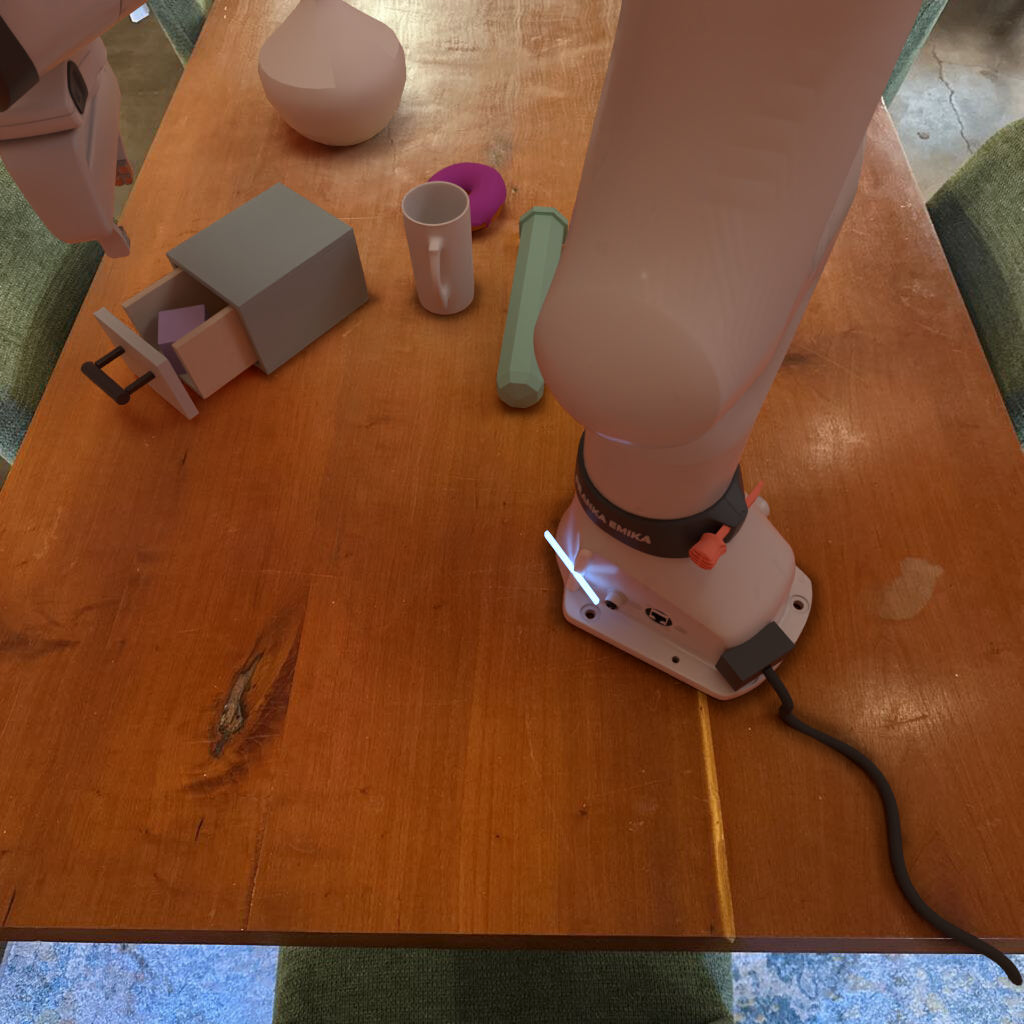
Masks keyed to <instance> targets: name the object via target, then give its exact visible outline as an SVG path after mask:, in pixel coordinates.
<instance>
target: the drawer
mask: <svg viewBox="0 0 1024 1024" xmlns="http://www.w3.org/2000/svg"><path fill="white" fill-rule="evenodd" d="M203 304H204V305H205V306H206V309H207V311H208V313H209V315H210V317H211V318H210V319H208V320H207V321H205V322H204V323H202V324H201V325H199V326H198V327H196V328H195V329H193V330H192V331H191V332H189V333H188V334H186V335H185V336H183V337H182V338H180V339H179V340H177V341H176V342H174V343H173V344H172V345H171V346H172V347H173V349H174V351H175V353H176V354H177V356H178V358H179V360H180V361H181V363H182V365H183V367H184V369H185V370H186V372H187V374H182V375H177V374H176V373H175V371H174V369H173V368H172V366H171V364H170V362H169V361H168V359H167V358H166V357H165V356H164V354H163V352H162V351H161V349H160V347H159V345H158V321H159V312H161V311H167V310H173V309H179V308H185V307H191V306H197V305H203ZM120 306H121V308H122V309H123V311H124V312H125V314H126V316H127V317H128V319H129V321H130V322H131V324H132V326H133V327H134V329H135V331H136V332H137V333H136V332H135V331H134V330H133V329H131V328H130V327H129V326H127V324H125V323H124V322H123V321H121V320H120V319H119V317H116V315H114V314H113V313H112V312H111V311H109V310H108V309H107V308H106V307H104V306H102V307H101V308H100V309H98V310H96V311H94V312H93V313H92V315H93V316H94V318H95V319H96V321H97V322H98V324H99V325H100V327H101V328H102V330H103V331H104V333H105V334H106V336H107V337H108V339H109V340H110V342H111V344H112V345H113V347H114V348H113V349H112V350H111V351H109V352H107V353H106V354H105V355H103V356H102V357H100V358H98V359H97V360H95V361H90V360H89V361H85V362H83V363H82V364H81V366H80V372H81V373H82V374H83V375H84V376H85V377H86V378H87V379H88V380H90V381H91V382H92V383H93V384H94V385H95V386H97V388H99V390H101V391H102V392H103V393H104V394H106V396H108V397H109V398H110V399H111V400H112V401H113V402H115V403H116V404H117V405H118V406H125V405H128V403H129V402H130V401H131V398H132V397H131V395H133V394H134V393H136V392H138V391H139V390H141V388H143V387H145V386H146V385H147V386H148V387H150V388H151V389H152V390H153V391H155V393H157V394H158V395H159V396H160V397H162V398H163V399H164V400H165V401H166V402H167V403H169V404H170V405H171V406H172V407H173V408H175V410H177V411H178V412H179V413H180V414H181V415H183V416H184V417H185V418H186V419H188V420H189V421H190V420H192V419H193V418H194V417H196V416H197V415H199V414H200V412H199V410H198V409H197V407H196V406H195V404H194V402H193V400H192V398H191V397H190V395H189V393H188V391H187V390H186V387H185V386H184V385H183V383H184V384H185V385H186V386H187V387H188V388H190V389H191V390H192V391H193V392H195V393H196V394H197V395H199V396H200V397H201V398H202V399H203V400H206V399H207V398H209V397H210V396H212V395H213V394H214V393H216V392H217V391H218V390H220V389H221V388H223V387H224V386H226V385H227V384H228V383H229V382H230V381H232V380H233V379H235V378H236V377H237V376H239V375H240V374H242V373H243V372H244V371H246V370H247V369H249V368H250V367H251V366H252V365H254V363H255V362H256V361H258V358H257V356H256V354H255V351H254V349H253V347H252V344H251V342H250V340H249V338H248V335H247V333H246V331H245V329H244V326H243V324H242V322H241V320H240V317H239V315H238V313H237V311H236V309H235V308H234V307H233V306H231V305H230V304H229V303H227V302H226V301H224V300H223V299H222V298H220V297H219V296H218V295H216V294H215V293H214V292H212V291H211V290H210V289H208V288H207V287H205V286H204V285H203V284H201V283H200V282H199V281H197V280H196V279H195V278H193V277H192V276H191V275H189V274H188V273H187V272H185V271H184V270H182V269H181V268H180V267H178V268H176V269H175V270H174V269H172V270H171V271H170V272H169V273H167V274H165V275H164V276H163V277H160V278H159V279H158V280H156V281H155V282H153V283H151V284H150V285H148V286H147V287H145V288H144V289H142V290H141V291H139V292H138V293H136V294H134V295H133V296H131V297H130V298H128V299H126V300H125V301H124V302H122V303H120ZM119 357H121V358H122V360H123V362H124V363H125V365H126V366H127V368H128V369H129V370H130V371H131V372H132V373H133V374H135V375H136V376H137V377H138V378H136V380H134V381H133V382H131V383H130V384H128V385H127V386H125V387H124V388H123V387H122V386H121V385H120V384H119V383H117V381H116V380H114V379H113V378H112V377H111V376H109V374H107V373H106V372H105V371H104V370H103V368H104V367H106V366H107V365H109V364H111V363H112V362H113V361H115V360H116V359H118V358H119Z"/></svg>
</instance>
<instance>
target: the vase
mask: <svg viewBox="0 0 1024 1024" xmlns="http://www.w3.org/2000/svg"><path fill="white" fill-rule="evenodd" d="M261 45H262V46H261V47H260V49H259V55H258V62H257V73H258V76H259V80H260V82H261V85H262V88H263V91H264V94H265V97H266V99H267V101H268V102H269V103H270V104H271V106H272V107H273V108H274V110H275V111H276V112H277V113H278V115H279V116H280V117H281V118H282V120H283V121H284V122H285V123H286V124H287V125H288V126H289V127H291V129H293V130H295V131H296V132H297V133H299V135H301V136H303V137H305V138H307V139H308V140H310V141H313V142H316V143H318V144H323V145H326V146H330V147H350V146H354V145H359V144H361V143H364V142H366V141H368V140H370V139H372V138H373V137H375V136H377V134H379V133H381V131H382V130H384V129H385V127H386V126H388V124H389V123H390V122H391V120H392V119H393V117H394V115H395V114H396V113H397V111H398V108H399V106H400V104H401V102H402V98H403V97H402V96H403V93H404V91H405V90H404V89H405V87H406V81H407V63H406V54H405V49H404V48H403V46H402V44H401V42H400V40H399V38H398V36H397V34H396V32H395V31H394V30H393V28H391V27H390V26H389V25H388V24H386V23H385V22H383V21H381V20H379V19H377V18H375V17H373V16H372V15H369V14H367V13H365V12H364V11H362V10H360V9H358V8H356V7H354V6H353V5H351V4H350V3H347V2H346V1H344V0H299V3H298V4H297V5H296V6H295V8H293V10H292V11H291V12H290V13H289V14H288V16H287V17H286V18H285V19H284V20H283V22H281V24H279V26H278V27H277V28H276V29H275V30H274V31H273V32H272V33H271V34H270V35H269V36H268V37H267V38H266V39H265V41H264V42H263V44H261Z"/></svg>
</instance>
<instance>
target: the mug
mask: <svg viewBox="0 0 1024 1024" xmlns="http://www.w3.org/2000/svg"><path fill="white" fill-rule="evenodd" d="M400 208H401V212H402V220H403V225H404V230H405V236H406V241H407V247H408V251H409V257H410V262H411V266H412V272H413V278H414V282H415V286H416V292H417V297H418V300H419V303H420V304H421V306H422V307H423V308H424V309H425V310H427V311H428V312H430V313H432V314H435V315H440V316H441V315H442V316H443V315H444V316H449V315H455V314H457V313H461V312H463V311H465V309H467V308H468V307H469V306H470V305H471V304H472V302H473V300H474V297H475V275H474V273H475V272H474V258H473V257H474V256H473V237H472V232H471V215H470V204H469V197H468V195H467V193H466V192H465V191H464V190H463V189H462V188H461V187H459V186H457V185H455V184H453V183H449V182H444V181H432V182H427V181H426V182H423V183H420V184H418V185H415V186H413V187H412V188H410V189H409V190H408V191H407V192H406V193H405V194H404V196H403V197H402V199H401V203H400Z"/></svg>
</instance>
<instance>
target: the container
mask: <svg viewBox="0 0 1024 1024" xmlns="http://www.w3.org/2000/svg"><path fill="white" fill-rule="evenodd" d="M518 220H519V221H518V232H519V233H518V240H519V244H518V251H517V256H516V261H515V267H514V273H513V279H512V285H511V291H510V296H509V301H508V308H507V313H506V319H505V326H504V330H503V337H502V342H501V348H500V354H499V360H498V366H497V371H496V378H495V381H496V382H495V383H496V393H497V395H498V397H499V400H500V401H502V402H503V403H505V404H506V405H508V406H510V407H511V408H520V409H521V408H522V409H527V408H529V407H531V406H533V405H535V404H537V403H538V402H539V401H540V400H541V399H542V397H543V396H544V390H545V385H546V383H545V381H544V379H543V377H542V375H541V372H540V369H539V367H538V364H537V361H536V357H535V353H534V346H533V334H534V328H535V324H536V321H537V318H538V316H539V313H540V311H541V308H542V305H543V303H544V300H545V297H546V295H547V292H548V290H549V287H550V285H551V282H552V279H553V277H554V274H555V271H556V269H557V266H558V263H559V260H560V257H561V254H562V251H563V247H564V244H565V240H566V236H567V232H568V229H569V220H568V218H566V216H565V215H563V213H561V212H560V211H559V210H558V209H557V208H556V207H555V206H554V207H553V206H539V205H533V206H532V207H531V208H530V209H529V210H527V211H526V212H524V213H523V214H522V215H521V216H520V217H519V219H518Z"/></svg>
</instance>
